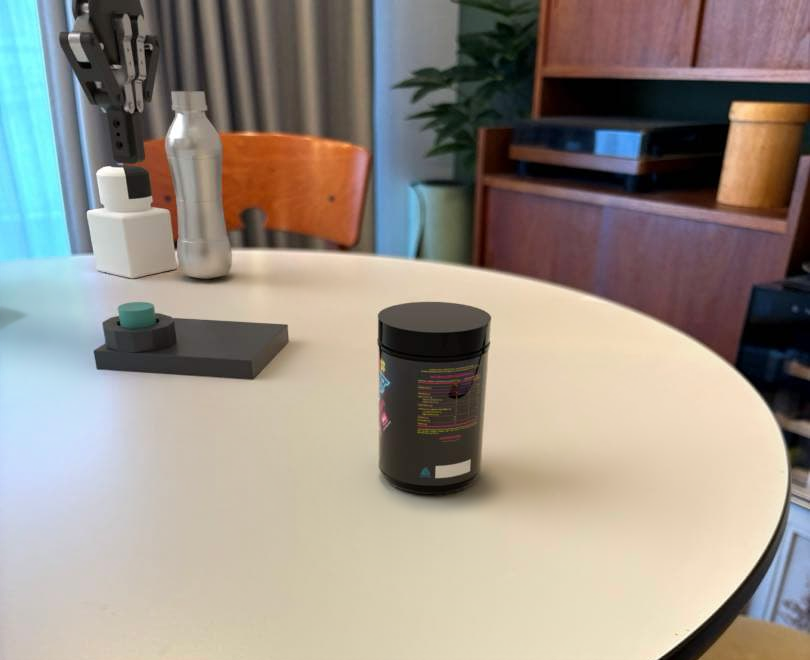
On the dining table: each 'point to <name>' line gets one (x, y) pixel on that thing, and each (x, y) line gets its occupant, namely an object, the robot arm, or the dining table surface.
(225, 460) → the dining table surface
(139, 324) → the button
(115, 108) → the robot arm
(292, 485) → the dining table surface
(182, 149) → the silver bottle
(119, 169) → the medicine bottle
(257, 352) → the dark grey button base
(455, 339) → the supplement container
